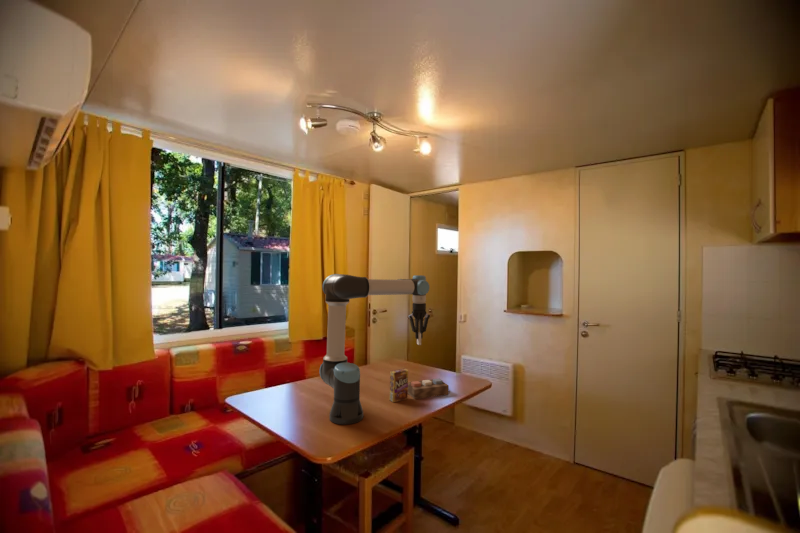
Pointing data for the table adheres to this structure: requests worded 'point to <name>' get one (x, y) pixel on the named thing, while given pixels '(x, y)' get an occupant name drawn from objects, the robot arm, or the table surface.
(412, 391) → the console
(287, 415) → the table surface
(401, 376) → the candy box
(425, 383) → the ivory key
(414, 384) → the brick key
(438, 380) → the slate key
